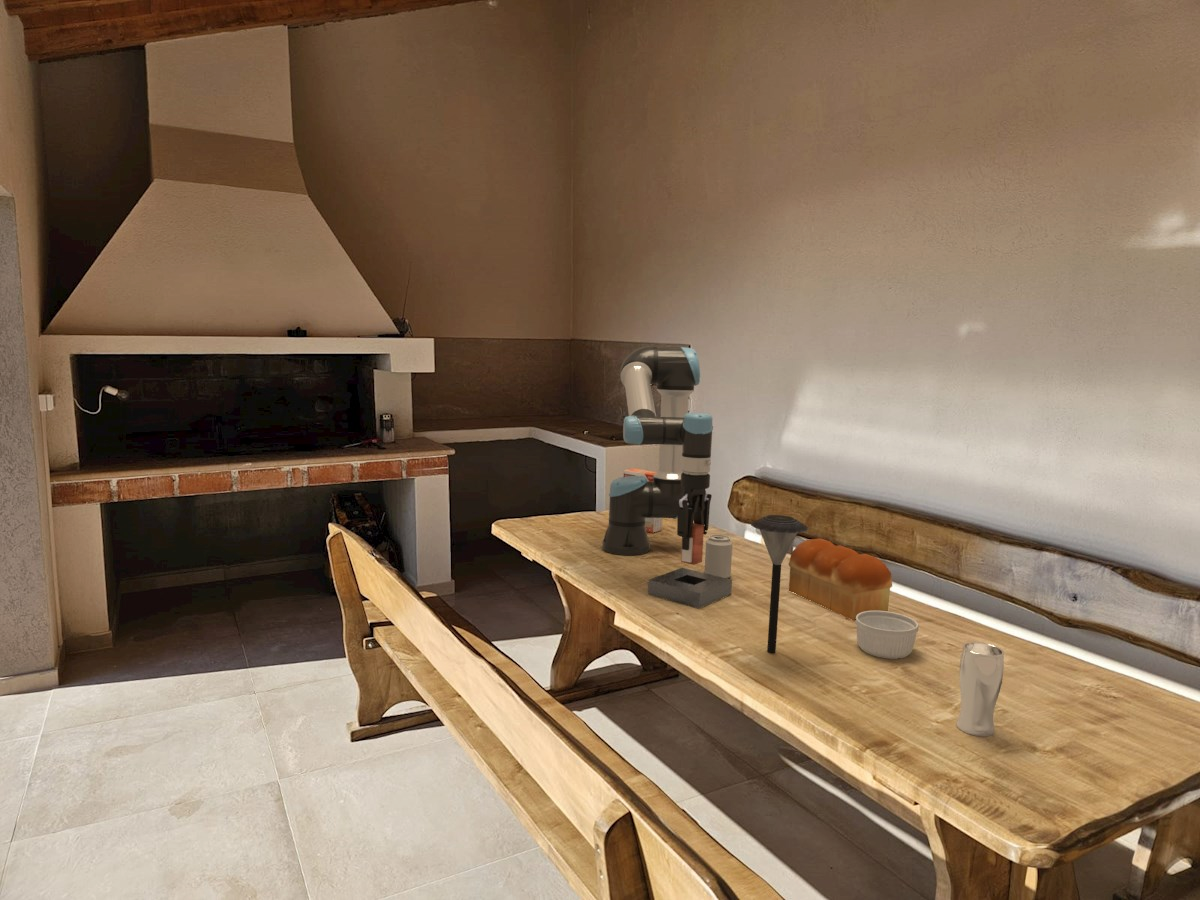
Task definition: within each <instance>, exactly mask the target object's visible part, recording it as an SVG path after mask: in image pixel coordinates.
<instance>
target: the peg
mask: <svg viewBox="0 0 1200 900" xmlns="http://www.w3.org/2000/svg"><path fill="white" fill-rule="evenodd" d="M704 526H705V525H701V524H696V523H694V522H693V527H692V534H691V538H693V548H692V562H691V563H689V562H685V561H682V552H681V555H680V556H681V557H680V558H681V559H680V562H681V563H684V564H688V565H694V566H695V565H699V564H700V563H703V551H704V549H703V548H704V534H703V533H704Z"/></svg>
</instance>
